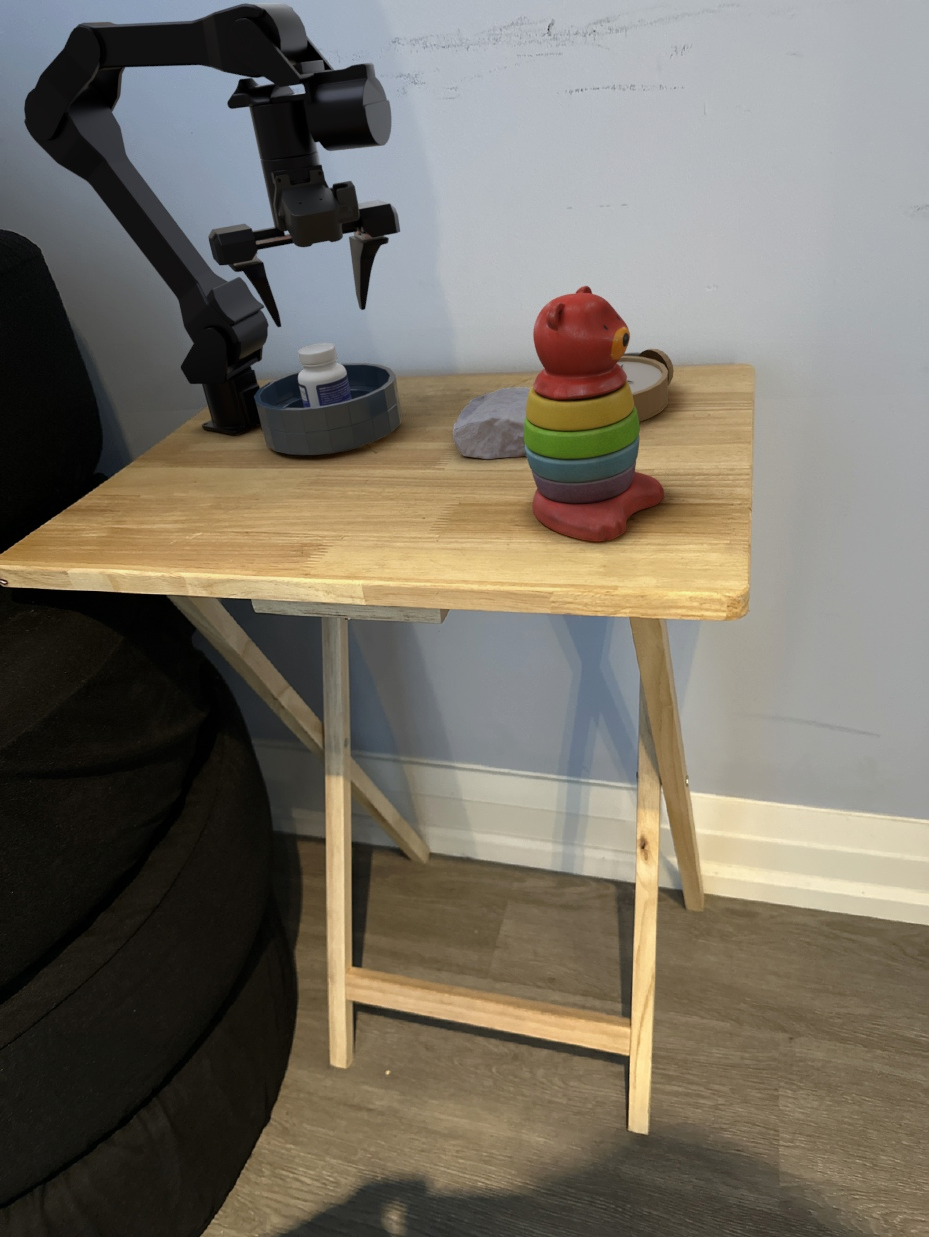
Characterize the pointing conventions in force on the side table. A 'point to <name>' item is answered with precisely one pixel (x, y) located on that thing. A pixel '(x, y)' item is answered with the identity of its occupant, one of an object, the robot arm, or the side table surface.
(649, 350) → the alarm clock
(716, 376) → the side table surface
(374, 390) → the bowl
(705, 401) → the side table surface
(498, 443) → the stone block
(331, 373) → the pill bottle
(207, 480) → the side table surface
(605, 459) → the stacking bear
